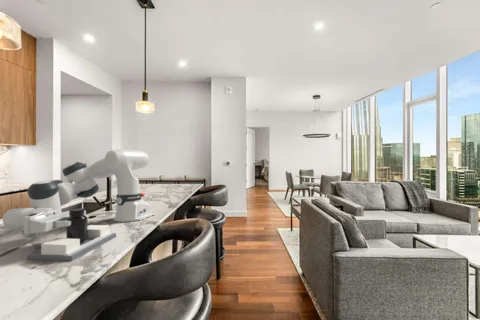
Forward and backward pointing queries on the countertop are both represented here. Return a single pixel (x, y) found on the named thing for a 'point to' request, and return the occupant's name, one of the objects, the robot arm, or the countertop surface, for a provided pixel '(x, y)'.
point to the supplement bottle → (77, 225)
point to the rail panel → (58, 257)
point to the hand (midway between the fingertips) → (79, 220)
